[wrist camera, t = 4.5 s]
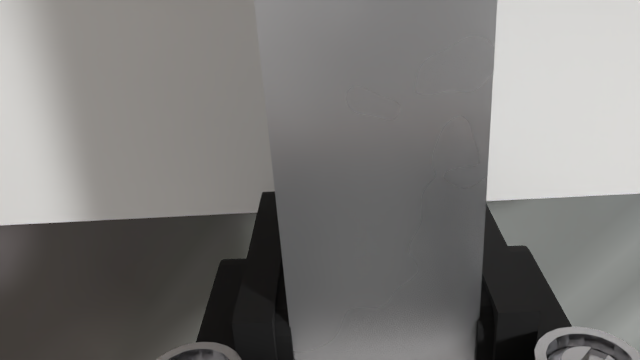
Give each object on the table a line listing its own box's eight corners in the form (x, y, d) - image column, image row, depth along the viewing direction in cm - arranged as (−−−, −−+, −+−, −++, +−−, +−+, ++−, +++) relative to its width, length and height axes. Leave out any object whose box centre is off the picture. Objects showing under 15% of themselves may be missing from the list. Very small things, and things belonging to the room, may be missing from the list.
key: (254, -406, 8) (178, -704, 4) (435, -422, 8) (539, -744, 4) (312, 280, 13) (303, 458, 9) (426, 275, 13) (472, 453, 9)
